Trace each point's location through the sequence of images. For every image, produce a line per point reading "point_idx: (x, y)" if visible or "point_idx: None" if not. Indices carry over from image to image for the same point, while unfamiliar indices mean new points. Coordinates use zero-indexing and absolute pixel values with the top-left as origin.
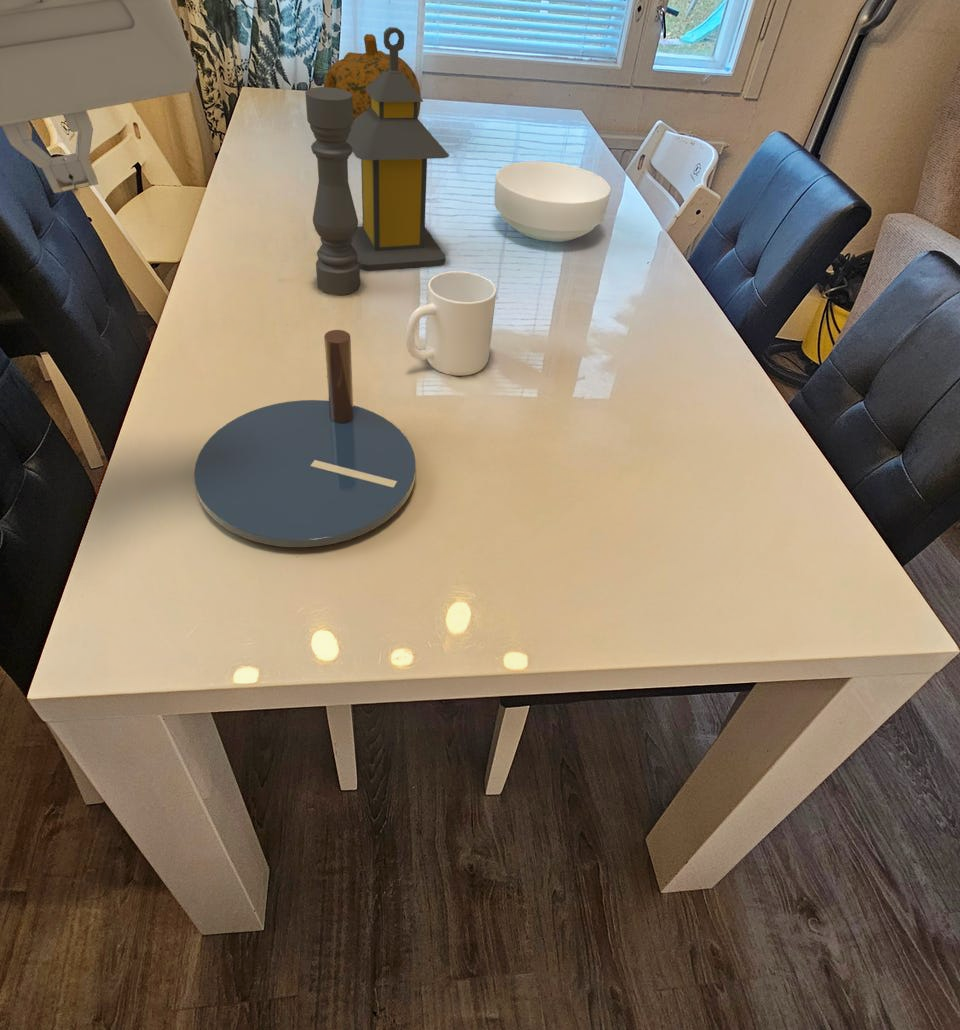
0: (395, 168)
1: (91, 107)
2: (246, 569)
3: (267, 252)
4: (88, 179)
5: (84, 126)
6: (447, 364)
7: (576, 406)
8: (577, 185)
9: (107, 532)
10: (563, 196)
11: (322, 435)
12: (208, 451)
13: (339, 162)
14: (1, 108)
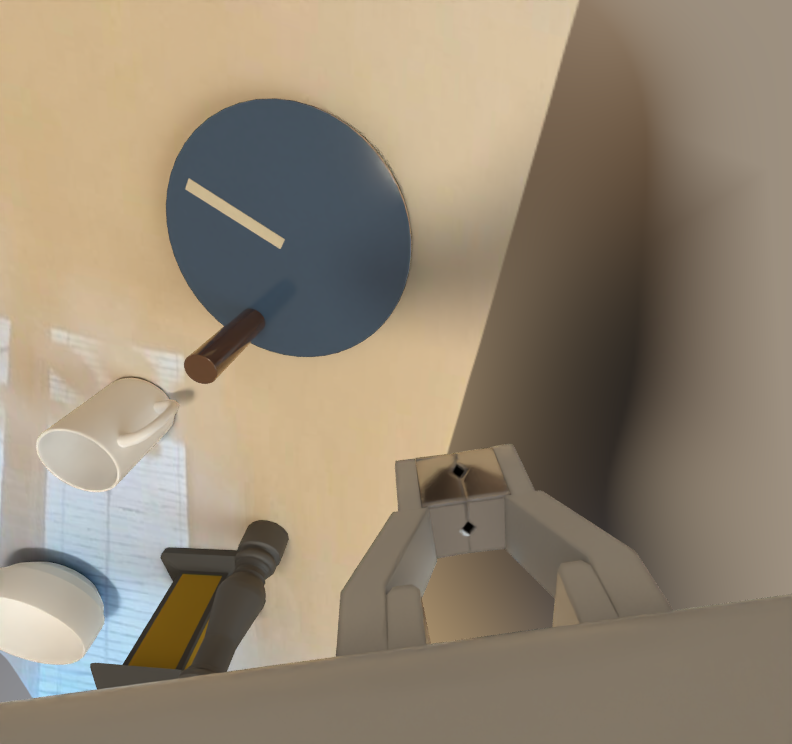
0: (161, 658)
1: (289, 667)
2: (364, 90)
3: (335, 589)
4: (414, 465)
5: (364, 602)
6: (143, 388)
7: (4, 303)
8: (12, 628)
9: (508, 193)
10: (37, 619)
11: (272, 291)
12: (394, 288)
13: (197, 663)
14: (705, 686)
